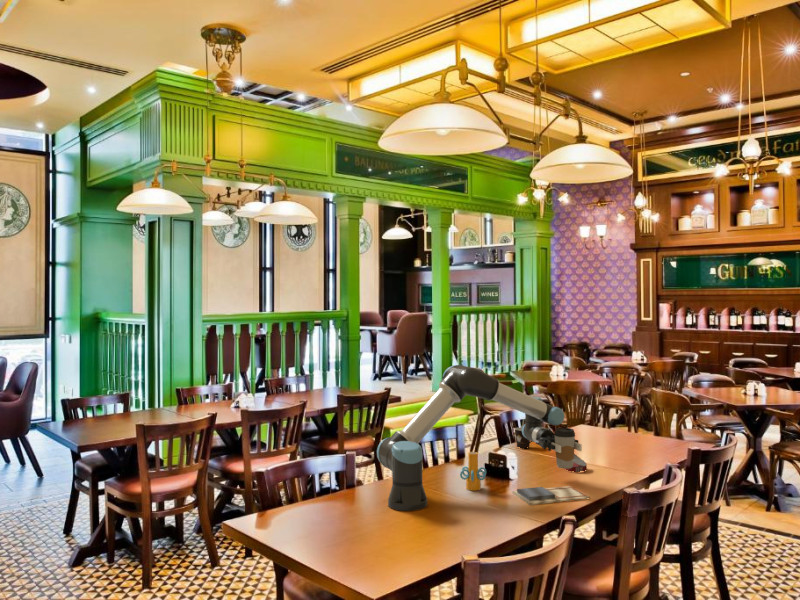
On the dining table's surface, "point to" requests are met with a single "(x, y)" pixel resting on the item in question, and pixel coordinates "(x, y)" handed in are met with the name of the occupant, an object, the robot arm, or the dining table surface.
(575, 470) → the canned food
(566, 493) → the board
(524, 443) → the coffee mug
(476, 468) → the orange box with loops
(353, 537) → the dining table surface
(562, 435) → the coffee cup
